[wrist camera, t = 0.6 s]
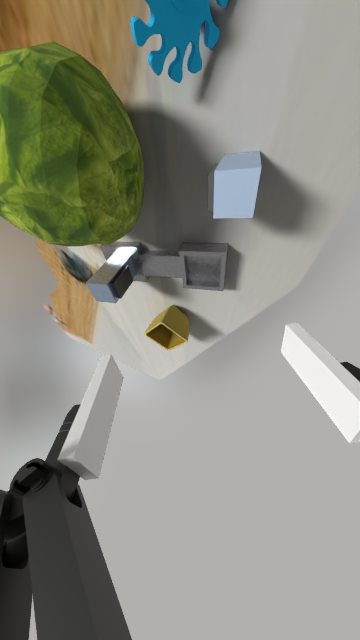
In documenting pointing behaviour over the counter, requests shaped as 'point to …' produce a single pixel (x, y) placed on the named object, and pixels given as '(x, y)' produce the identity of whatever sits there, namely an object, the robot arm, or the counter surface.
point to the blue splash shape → (177, 32)
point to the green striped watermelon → (65, 149)
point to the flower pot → (169, 328)
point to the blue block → (234, 185)
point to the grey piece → (158, 267)
